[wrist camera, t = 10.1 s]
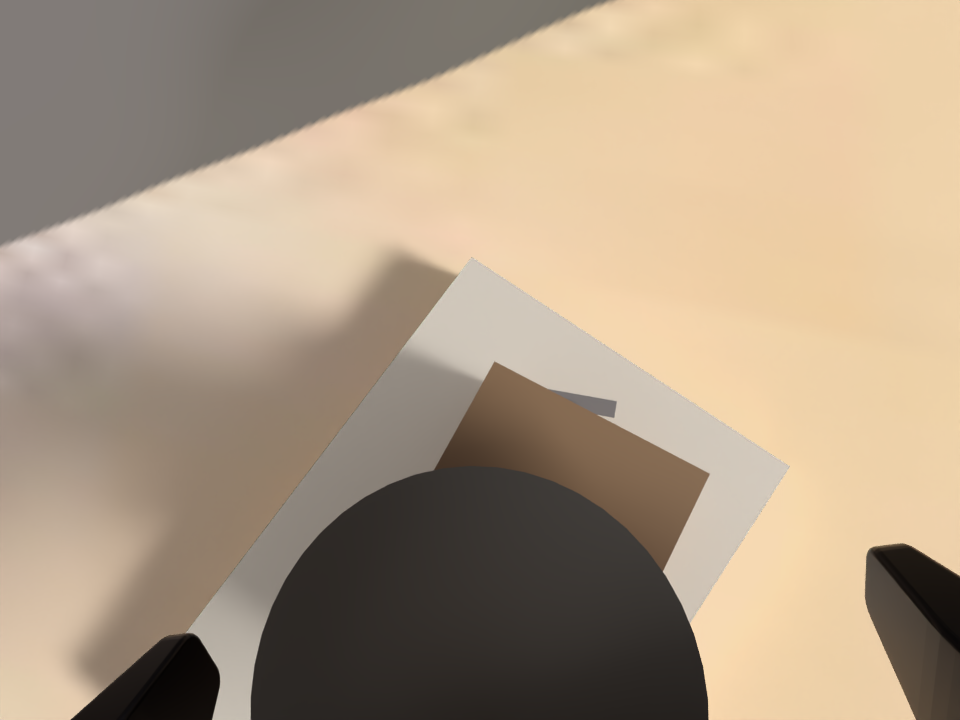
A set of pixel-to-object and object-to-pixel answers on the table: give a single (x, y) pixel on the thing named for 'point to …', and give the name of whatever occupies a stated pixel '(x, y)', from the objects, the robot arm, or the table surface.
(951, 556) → the table surface
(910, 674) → the robot arm
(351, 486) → the board
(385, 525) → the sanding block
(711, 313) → the table surface
